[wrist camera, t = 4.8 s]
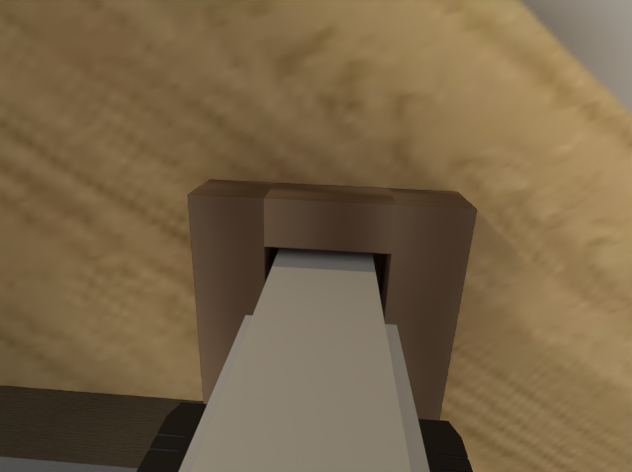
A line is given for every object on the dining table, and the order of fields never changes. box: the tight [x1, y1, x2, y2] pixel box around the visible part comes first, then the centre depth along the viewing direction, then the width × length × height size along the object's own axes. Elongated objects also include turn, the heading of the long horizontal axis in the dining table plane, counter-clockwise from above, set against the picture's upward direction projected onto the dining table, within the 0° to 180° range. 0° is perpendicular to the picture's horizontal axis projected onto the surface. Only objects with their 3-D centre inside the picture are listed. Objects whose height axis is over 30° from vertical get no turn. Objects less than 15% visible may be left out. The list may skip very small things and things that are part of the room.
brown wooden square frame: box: [188, 180, 477, 420], centre depth 17 cm, size 10×10×2 cm
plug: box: [191, 247, 411, 472], centre depth 11 cm, size 4×5×14 cm, turn 178°
